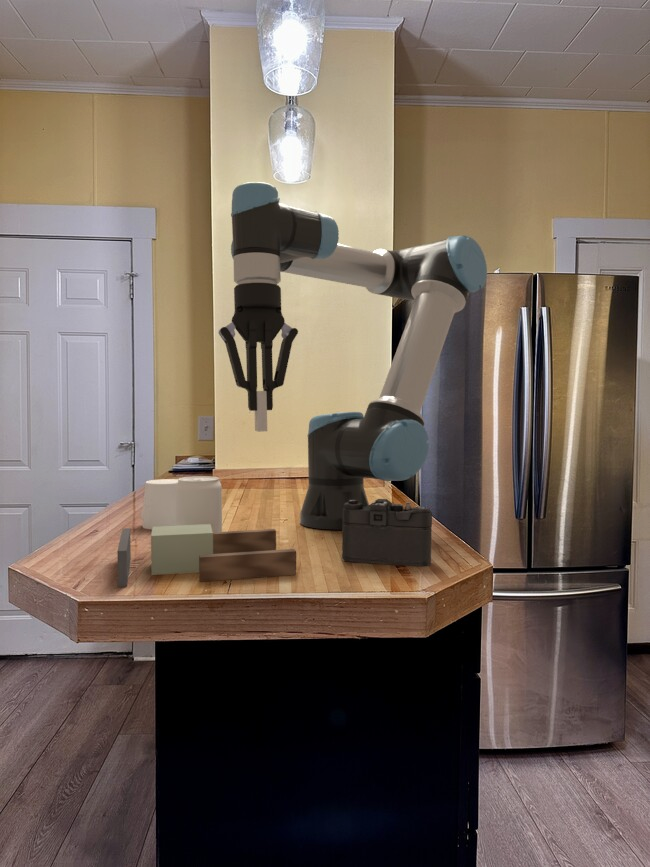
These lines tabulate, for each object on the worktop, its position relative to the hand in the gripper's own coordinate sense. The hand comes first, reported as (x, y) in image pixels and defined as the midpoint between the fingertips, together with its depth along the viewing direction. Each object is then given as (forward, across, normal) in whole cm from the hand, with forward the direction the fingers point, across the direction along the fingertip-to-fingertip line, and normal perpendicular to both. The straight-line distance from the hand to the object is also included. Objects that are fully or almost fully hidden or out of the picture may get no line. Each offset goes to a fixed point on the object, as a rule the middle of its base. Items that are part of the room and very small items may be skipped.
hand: (261, 430), depth 102 cm
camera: (+22, -19, +7) cm, 30 cm away
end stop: (+20, +22, +3) cm, 30 cm away
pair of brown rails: (+21, +4, +4) cm, 21 cm away
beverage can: (+21, +9, -11) cm, 26 cm away
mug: (+21, +13, -31) cm, 39 cm away
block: (+21, +14, +3) cm, 25 cm away
